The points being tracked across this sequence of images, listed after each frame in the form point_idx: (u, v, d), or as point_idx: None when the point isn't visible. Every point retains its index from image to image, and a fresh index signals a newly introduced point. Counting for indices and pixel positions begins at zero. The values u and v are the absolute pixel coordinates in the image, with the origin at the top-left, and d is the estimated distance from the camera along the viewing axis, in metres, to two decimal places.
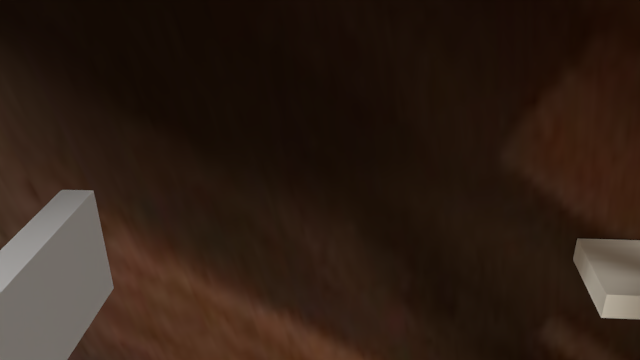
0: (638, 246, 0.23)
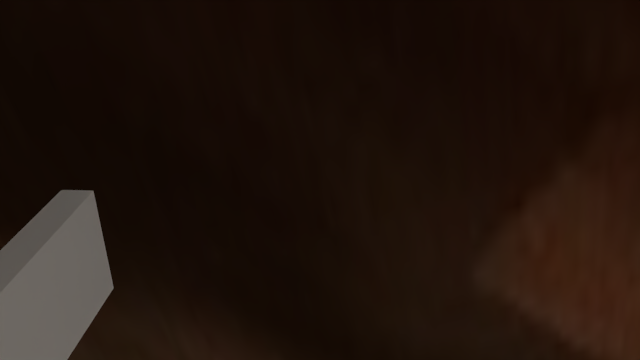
0: None
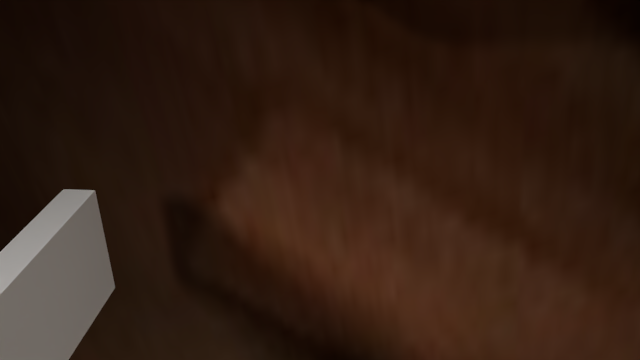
0: None
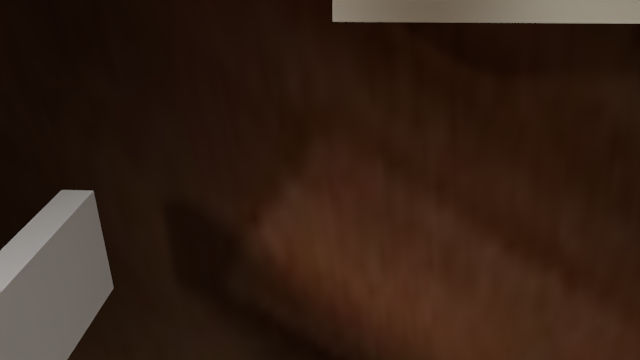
0: None
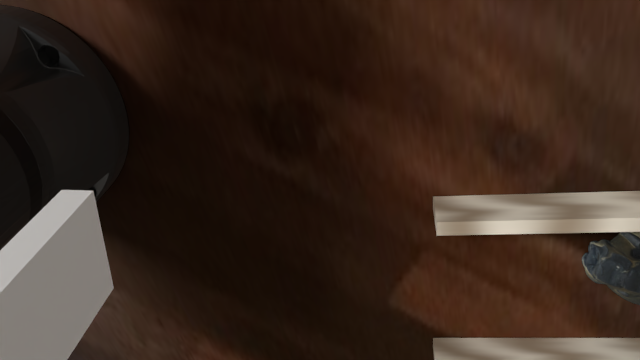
0: (461, 341, 0.47)
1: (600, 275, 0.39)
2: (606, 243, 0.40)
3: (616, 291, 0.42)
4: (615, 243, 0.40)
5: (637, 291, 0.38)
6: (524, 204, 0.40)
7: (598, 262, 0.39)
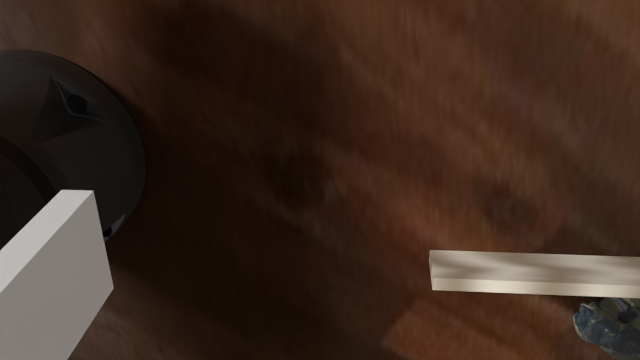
0: None
1: (589, 336, 0.42)
2: (596, 306, 0.43)
3: (603, 348, 0.45)
4: (604, 306, 0.43)
5: (623, 353, 0.41)
6: (514, 264, 0.43)
7: (588, 324, 0.42)
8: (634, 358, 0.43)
